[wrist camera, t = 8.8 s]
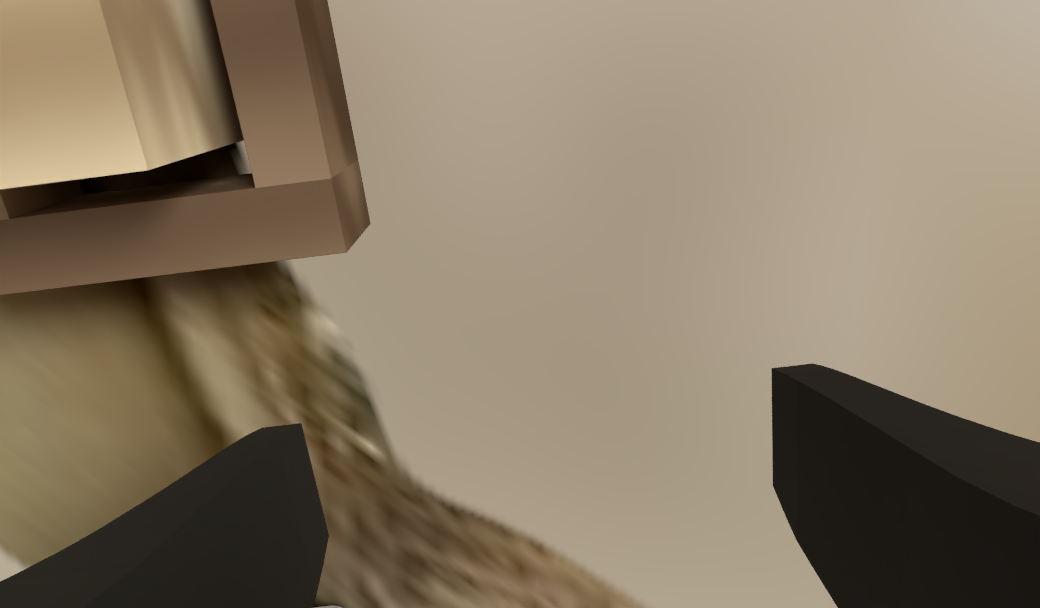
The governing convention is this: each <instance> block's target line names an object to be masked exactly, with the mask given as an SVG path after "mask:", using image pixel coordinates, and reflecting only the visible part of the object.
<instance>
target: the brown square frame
mask: <svg viewBox="0 0 1040 608" xmlns="http://www.w3.org/2000/svg"><path fill="white" fill-rule="evenodd" d="M210 1H211V6H212V10H213V14H214V18H215V22H216V26H217V30H218V35H219V39H220V43H221V47H222V51H223V55H224V59H225V64H226V68H227V72H228V76H229V80H230V84H231V88H232V93H233V97H234V101H235V105H236V109H237V113H238V117H239V122H240V126H241V130H242V134H243V138H244V142H245V146H246V151H247V155H248V159H249V163H250V167H251V171H252V173H250V174H242V175H235V176H227V177H219V178H211V179H203V180H195V181H187V182H179V183H171V184H163V185H155V186H147V187H140V188H132V189H124V190H116V191H108V192H100V193H92V194H83V191H82V188H81V185H80V181H79V179H77V180H69V181H61V182H54V183H46V184H38V185H30V186H23V187H15V188H7V189H0V295H5V294H13V293H21V292H29V291H37V290H45V289H53V288H61V287H70V286H78V285H86V284H94V283H102V282H110V281H118V280H127V279H135V278H143V277H151V276H159V275H167V274H175V273H183V272H192V271H200V270H208V269H216V268H224V267H232V266H240V265H249V264H257V263H265V262H273V261H281V260H289V259H297V258H305V257H313V256H322V255H330V254H338V253H346V252H347V251H348V250H349V249H350V248H351V246H352V245H353V244H354V243H355V242H356V240H357V239H358V238H359V236H361V234H362V233H363V232H364V230H365V229H366V228H367V227H368V226H369V225H370V220H369V214H368V209H367V204H366V199H365V194H364V188H363V183H362V178H361V173H360V168H359V163H358V158H357V152H356V147H355V142H354V136H353V131H352V126H351V121H350V116H349V110H348V105H347V100H346V95H345V90H344V85H343V79H342V74H341V69H340V64H339V59H338V53H337V48H336V43H335V38H334V33H333V28H332V22H331V17H330V12H329V7H328V2H327V0H210Z"/></svg>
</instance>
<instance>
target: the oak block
mask: <svg viewBox="0 0 1040 608" xmlns="http://www.w3.org/2000/svg"><path fill="white" fill-rule="evenodd" d="M243 140H244V138H243V134H242V130H241V126H240V122H239V117H238V113H237V109H236V105H235V101H234V97H233V93H232V88H231V84H230V80H229V76H228V72H227V68H226V64H225V59H224V55H223V51H222V47H221V43H220V39H219V35H218V30H217V26H216V22H215V18H214V14H213V10H212V6H211V1H210V0H0V189H7V188H15V187H23V186H30V185H38V184H46V183H54V182H61V181H69V180H77V179H85V178H92V177H100V176H108V175H116V174H123V173H131V172H139V171H147V170H151V169H154V168H157V167H160V166H163V165H167V164H170V163H173V162H176V161H179V160H182V159H186V158H189V157H192V156H195V155H198V154H201V153H205V152H208V151H211V150H214V149H217V148H220V147H224V146H227V145H230V144H233V143H236V142H239V141H243Z"/></svg>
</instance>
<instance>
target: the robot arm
mask: <svg viewBox="0 0 1040 608" xmlns="http://www.w3.org/2000/svg"><path fill="white" fill-rule="evenodd" d="M772 428H773V429H772V431H773V434H772V435H773V486H774V489H775V492H776V494H777V496H778V499H779V501H780V503H781V506H782V508H783V511H784V513H785V515H786V517H787V520H788V522H789V524H790V526H791V529H792V531H793V533H794V535H795V537H796V540H797V542H798V543H799V545H800V547H801V548H802V550H803V552H804V553H805V555H806V557H807V558H808V560H809V561H810V563H811V565H812V567H813V568H814V570H815V571H816V573H817V575H818V576H819V578H820V580H821V581H822V583H823V585H824V586H825V588H826V589H827V591H828V592H829V594H830V596H831V597H832V599H833V601H834V602H835V604H836V605H837V607H838V608H1040V443H1039V442H1035V441H1032V440H1029V439H1025V438H1022V437H1018V436H1015V435H1012V434H1008V433H1005V432H1002V431H999V430H996V429H993V428H990V427H987V426H984V425H981V424H978V423H975V422H972V421H969V420H966V419H963V418H960V417H958V416H955V415H952V414H949V413H947V412H944V411H941V410H938V409H936V408H933V407H930V406H927V405H925V404H922V403H919V402H917V401H914V400H912V399H909V398H907V397H904V396H901V395H899V394H896V393H894V392H891V391H888V390H886V389H883V388H881V387H878V386H876V385H873V384H871V383H868V382H866V381H863V380H860V379H858V378H856V377H853V376H850V375H848V374H845V373H842V372H839V371H837V370H834V369H830V368H827V367H824V366H820V365H816V364H806V365H798V366H789V367H781V368H772ZM328 537H329V534H328V530H327V526H326V522H325V518H324V514H323V510H322V506H321V502H320V498H319V494H318V490H317V486H316V482H315V478H314V474H313V470H312V466H311V461H310V457H309V453H308V449H307V445H306V441H305V437H304V433H303V429H302V425H301V423H300V424H292V425H283V426H274V427H266V428H261V429H259V430H257V431H255V432H252V433H251V434H249V435H247V436H245V437H243V438H242V439H240V440H238V441H237V442H235V443H233V444H232V445H230V446H229V447H227V448H226V449H224V450H222V451H221V452H219V453H218V454H216V455H215V456H213V457H212V458H210V459H209V460H207V461H206V462H204V463H203V464H201V465H200V466H198V467H197V468H195V469H193V470H192V471H190V472H189V473H187V474H186V475H184V476H183V477H181V478H180V479H178V480H177V481H175V482H174V483H172V484H171V485H169V486H168V487H166V488H165V489H163V490H162V491H160V492H159V493H157V494H155V495H154V496H152V497H151V498H149V499H147V500H146V501H144V502H142V503H141V504H139V505H138V506H136V507H134V508H133V509H131V510H129V511H128V512H126V513H125V514H123V515H121V516H120V517H118V518H117V519H115V520H113V521H112V522H110V523H108V524H107V525H105V526H104V527H102V528H100V529H99V530H97V531H95V532H94V533H92V534H90V535H88V536H87V537H85V538H83V539H81V540H80V541H78V542H76V543H74V544H72V545H71V546H69V547H67V548H65V549H63V550H62V551H60V552H58V553H56V554H54V555H52V556H50V557H48V558H46V559H44V560H42V561H40V562H39V563H37V564H35V565H33V566H31V567H29V568H27V569H25V570H23V571H21V572H19V573H17V574H15V575H13V576H11V577H9V578H7V579H5V580H3V581H1V582H0V608H312V606H313V603H314V600H315V597H316V594H317V590H318V585H319V581H320V577H321V572H322V568H323V563H324V558H325V553H326V547H327V542H328ZM314 608H342V607H339V606H323V607H314Z"/></svg>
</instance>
